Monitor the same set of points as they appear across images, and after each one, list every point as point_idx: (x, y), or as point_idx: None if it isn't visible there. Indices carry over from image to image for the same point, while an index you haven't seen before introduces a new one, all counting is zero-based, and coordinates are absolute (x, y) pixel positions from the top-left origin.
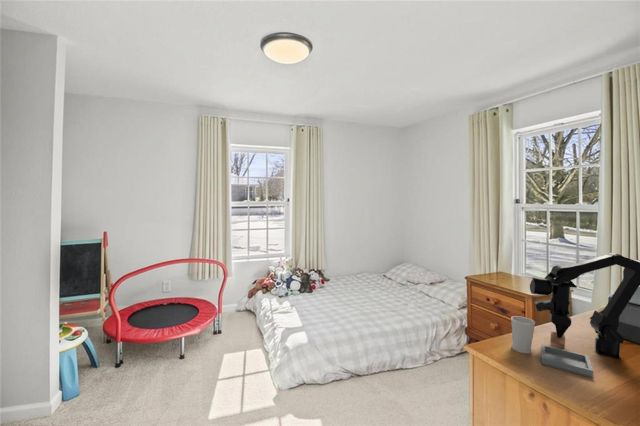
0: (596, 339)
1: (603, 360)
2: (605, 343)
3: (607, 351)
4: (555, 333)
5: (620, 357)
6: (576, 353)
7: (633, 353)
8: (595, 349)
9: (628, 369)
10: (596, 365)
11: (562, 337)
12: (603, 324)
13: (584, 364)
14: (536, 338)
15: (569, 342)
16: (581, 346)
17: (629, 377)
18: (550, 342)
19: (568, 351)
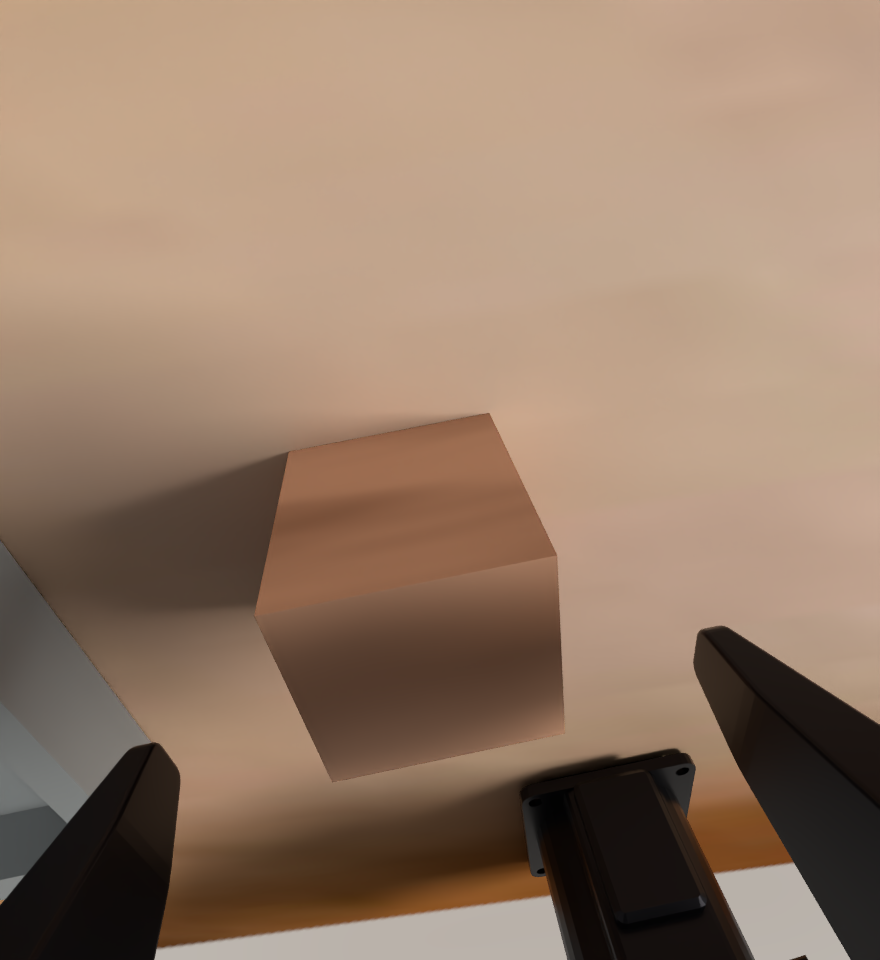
0: (647, 917)
1: (382, 823)
2: (576, 957)
3: (545, 866)
4: (454, 644)
5: (541, 875)
6: (69, 812)
7: (735, 868)
8: (584, 783)
9: (347, 908)
10: (177, 822)
11: (318, 751)
12: None
13: (2, 808)
14: (516, 163)
15: (694, 585)
16: (638, 678)
17: (178, 933)
18: (396, 449)
19: (20, 759)
